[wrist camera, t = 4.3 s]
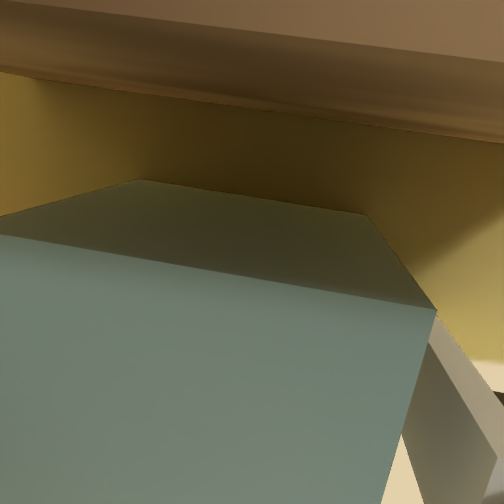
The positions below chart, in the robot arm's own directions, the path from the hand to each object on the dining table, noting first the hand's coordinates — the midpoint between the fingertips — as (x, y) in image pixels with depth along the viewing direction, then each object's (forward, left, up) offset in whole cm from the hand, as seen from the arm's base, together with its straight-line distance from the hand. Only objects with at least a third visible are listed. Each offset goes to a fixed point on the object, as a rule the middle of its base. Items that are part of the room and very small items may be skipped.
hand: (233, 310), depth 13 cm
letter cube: (0, 0, 0) cm, 0 cm away
